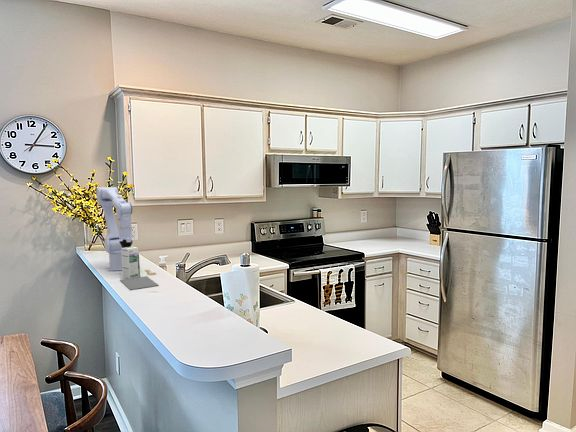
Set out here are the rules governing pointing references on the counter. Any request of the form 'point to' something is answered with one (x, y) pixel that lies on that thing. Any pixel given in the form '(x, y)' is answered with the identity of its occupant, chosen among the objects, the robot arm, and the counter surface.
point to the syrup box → (130, 262)
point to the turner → (150, 272)
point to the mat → (138, 283)
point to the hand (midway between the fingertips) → (126, 255)
